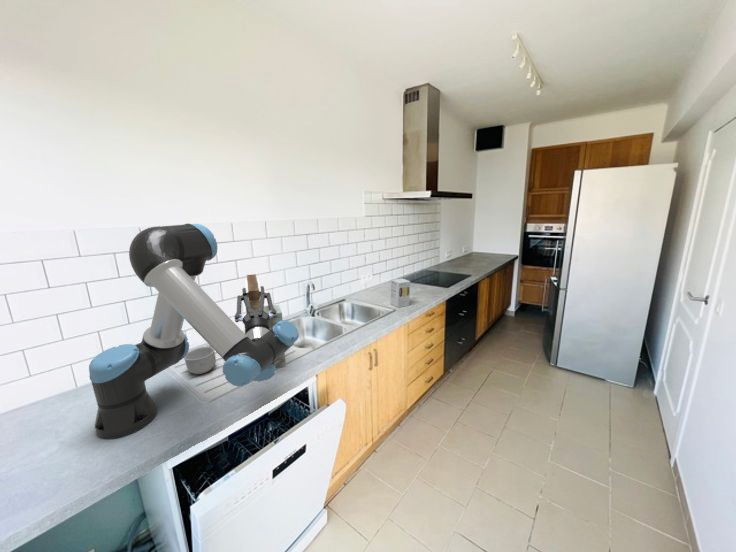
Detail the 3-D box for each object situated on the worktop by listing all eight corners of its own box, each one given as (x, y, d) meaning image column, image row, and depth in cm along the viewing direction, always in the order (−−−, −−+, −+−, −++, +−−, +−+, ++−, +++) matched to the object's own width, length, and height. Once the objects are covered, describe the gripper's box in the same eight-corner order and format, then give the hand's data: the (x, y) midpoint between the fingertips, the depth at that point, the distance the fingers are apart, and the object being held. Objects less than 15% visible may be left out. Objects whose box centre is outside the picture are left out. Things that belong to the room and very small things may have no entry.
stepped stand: (252, 373, 119) (245, 302, 112) (251, 361, 128) (244, 294, 121) (285, 366, 124) (280, 298, 117) (282, 355, 133) (277, 291, 126)
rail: (249, 300, 104) (248, 291, 103) (247, 283, 125) (246, 274, 125) (259, 299, 105) (258, 290, 104) (256, 282, 127) (255, 274, 126)
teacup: (204, 379, 115) (201, 360, 113) (180, 375, 117) (176, 357, 115) (227, 360, 129) (225, 343, 127) (205, 358, 131) (203, 341, 129)
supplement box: (397, 307, 193) (398, 282, 189) (389, 303, 201) (390, 279, 196) (409, 305, 197) (410, 281, 193) (401, 301, 205) (402, 277, 201)
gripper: (230, 344, 95) (229, 291, 110) (284, 336, 101) (275, 286, 117) (228, 330, 90) (226, 276, 105) (284, 322, 96) (275, 272, 112)
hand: (252, 282), depth 111 cm, fingers closed on rail, 3 cm apart
